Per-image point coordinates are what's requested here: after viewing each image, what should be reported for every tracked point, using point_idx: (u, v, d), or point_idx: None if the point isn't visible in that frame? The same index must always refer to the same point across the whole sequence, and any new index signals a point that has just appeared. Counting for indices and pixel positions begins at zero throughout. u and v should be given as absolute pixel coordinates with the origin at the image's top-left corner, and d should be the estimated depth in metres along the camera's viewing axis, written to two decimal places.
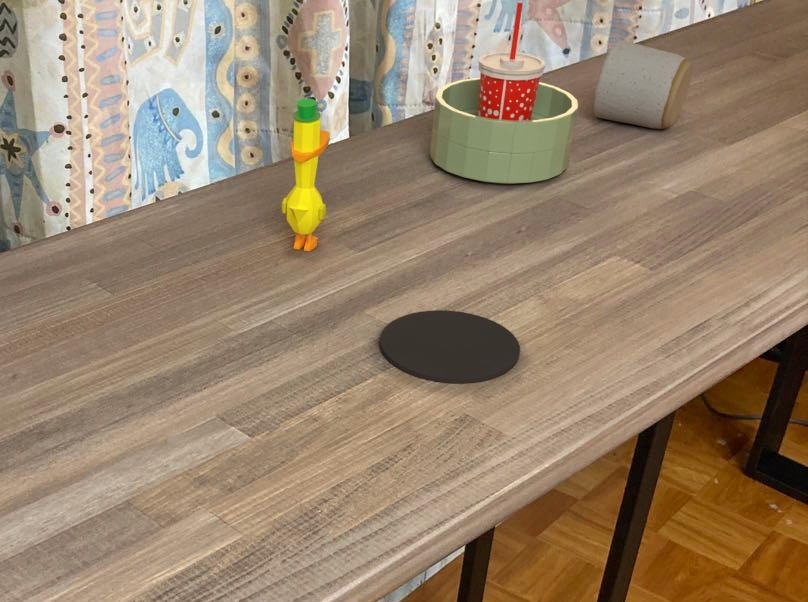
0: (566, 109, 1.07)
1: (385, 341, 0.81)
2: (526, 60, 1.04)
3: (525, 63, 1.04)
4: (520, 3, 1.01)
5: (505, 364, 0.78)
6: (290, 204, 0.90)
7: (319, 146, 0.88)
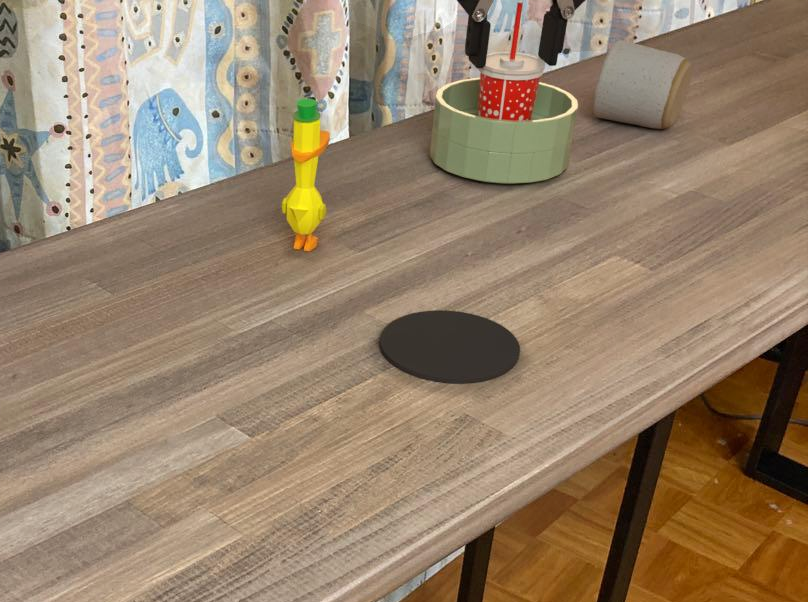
0: (566, 109, 1.07)
1: (385, 341, 0.81)
2: (526, 60, 1.04)
3: (525, 63, 1.04)
4: (520, 3, 1.01)
5: (505, 364, 0.78)
6: (290, 204, 0.90)
7: (319, 146, 0.88)
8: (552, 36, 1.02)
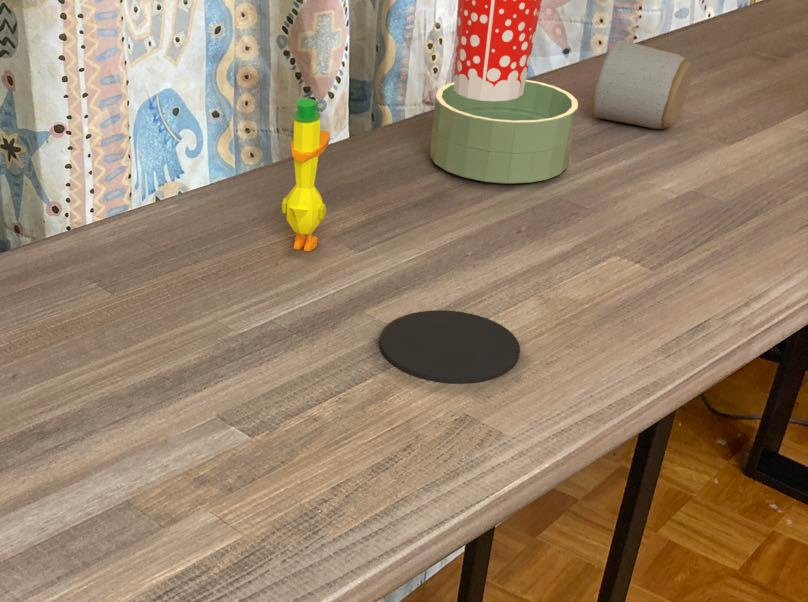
0: (566, 109, 1.07)
1: (385, 341, 0.81)
2: None
3: None
4: None
5: (505, 364, 0.78)
6: (290, 204, 0.90)
7: (319, 146, 0.88)
8: None
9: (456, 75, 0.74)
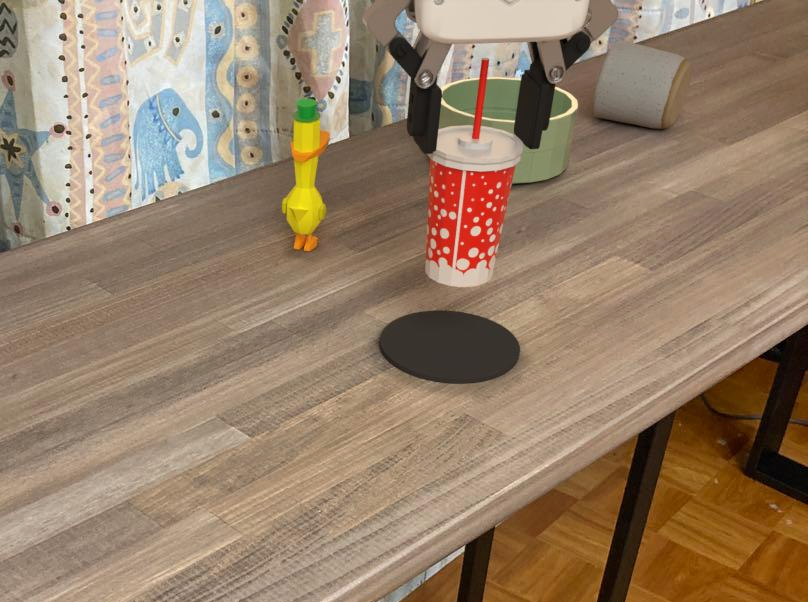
0: (566, 109, 1.07)
1: (385, 341, 0.81)
2: (496, 139, 0.72)
3: (494, 145, 0.71)
4: (485, 60, 0.68)
5: (505, 364, 0.78)
6: (290, 204, 0.90)
7: (319, 146, 0.88)
8: (533, 108, 0.70)
9: (427, 260, 0.76)
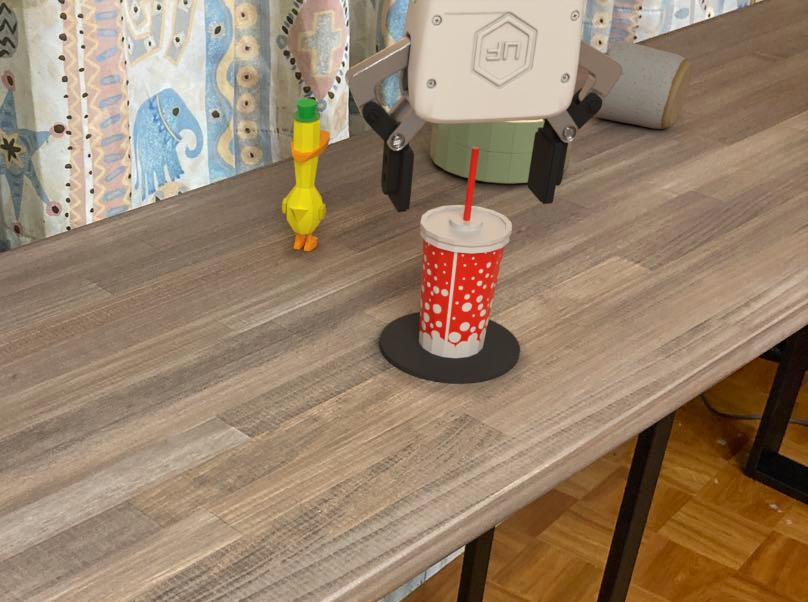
0: None
1: (385, 341, 0.81)
2: (487, 220, 0.76)
3: (485, 226, 0.75)
4: (476, 149, 0.72)
5: (505, 364, 0.78)
6: (290, 204, 0.90)
7: (319, 146, 0.88)
8: (547, 165, 0.72)
9: (421, 331, 0.80)
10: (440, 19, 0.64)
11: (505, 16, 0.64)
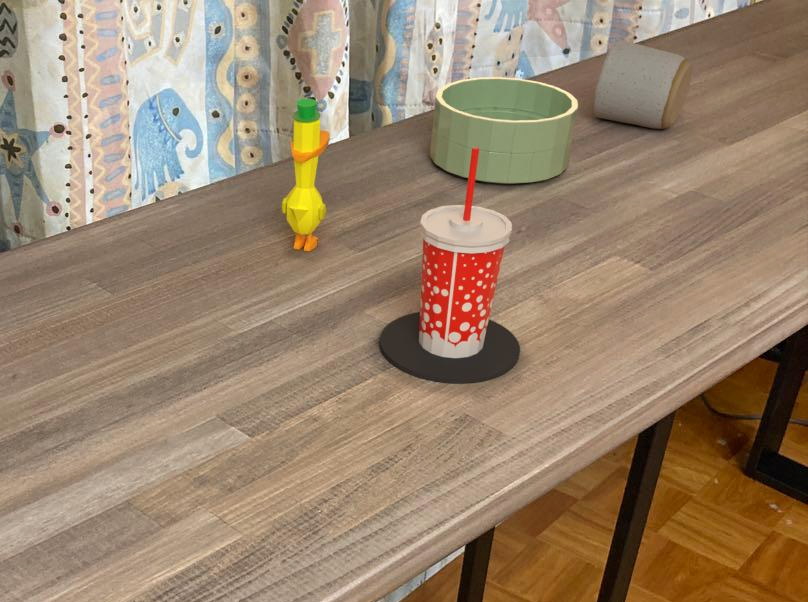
0: (566, 109, 1.07)
1: (385, 341, 0.81)
2: (487, 220, 0.76)
3: (485, 226, 0.75)
4: (476, 149, 0.72)
5: (505, 364, 0.78)
6: (290, 204, 0.90)
7: (319, 146, 0.88)
8: None
9: (421, 331, 0.80)
10: None
11: None
